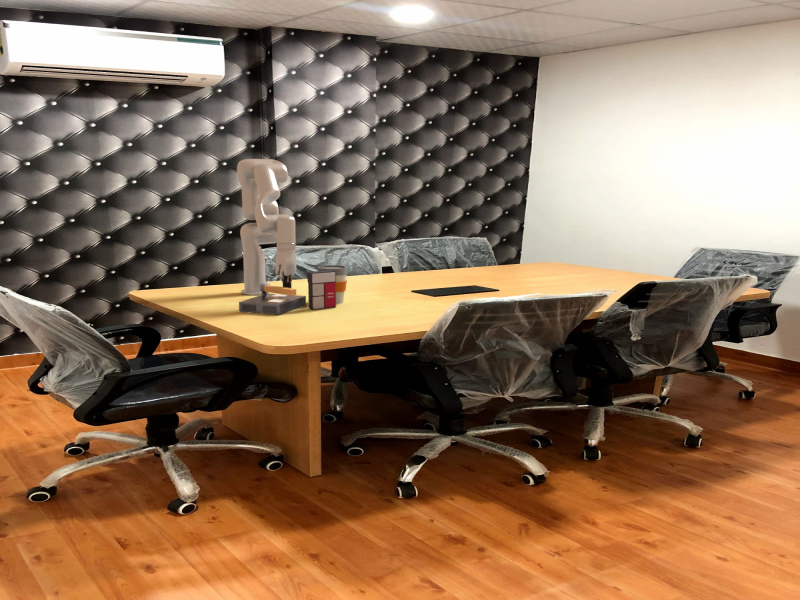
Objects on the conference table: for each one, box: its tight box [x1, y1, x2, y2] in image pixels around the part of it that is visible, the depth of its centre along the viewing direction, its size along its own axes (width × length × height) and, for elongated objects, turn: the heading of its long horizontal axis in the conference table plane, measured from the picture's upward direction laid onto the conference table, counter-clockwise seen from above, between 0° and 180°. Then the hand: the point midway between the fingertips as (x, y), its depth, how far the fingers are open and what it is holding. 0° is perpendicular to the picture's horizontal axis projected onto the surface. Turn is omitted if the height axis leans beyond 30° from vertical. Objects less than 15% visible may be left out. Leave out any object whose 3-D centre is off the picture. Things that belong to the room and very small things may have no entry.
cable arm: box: [260, 283, 297, 296], centre depth 299 cm, size 20×4×3 cm, turn 50°
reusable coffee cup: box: [317, 264, 348, 305], centre depth 310 cm, size 13×13×15 cm
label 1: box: [269, 293, 287, 298], centre depth 301 cm, size 6×5×1 cm
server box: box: [238, 291, 307, 316], centre depth 295 cm, size 22×18×6 cm
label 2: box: [268, 299, 286, 303], centre depth 290 cm, size 6×5×1 cm
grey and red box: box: [306, 270, 337, 311], centre depth 296 cm, size 11×4×15 cm, turn 122°
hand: (287, 291), depth 300 cm, fingers closed
